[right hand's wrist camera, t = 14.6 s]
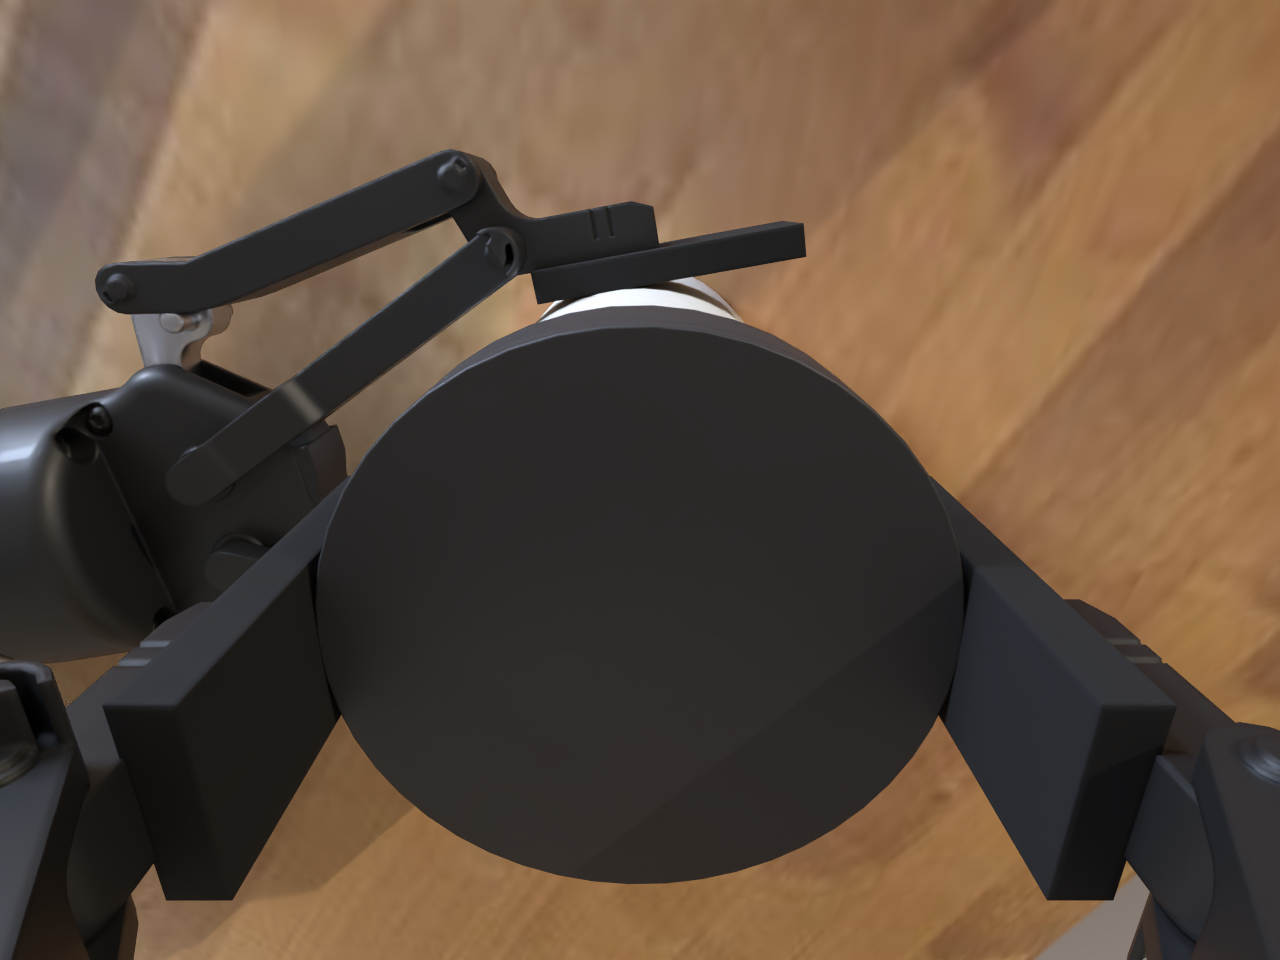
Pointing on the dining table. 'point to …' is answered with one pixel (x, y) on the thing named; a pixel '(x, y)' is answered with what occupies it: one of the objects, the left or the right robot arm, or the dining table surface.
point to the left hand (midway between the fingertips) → (808, 408)
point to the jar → (650, 299)
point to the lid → (640, 598)
